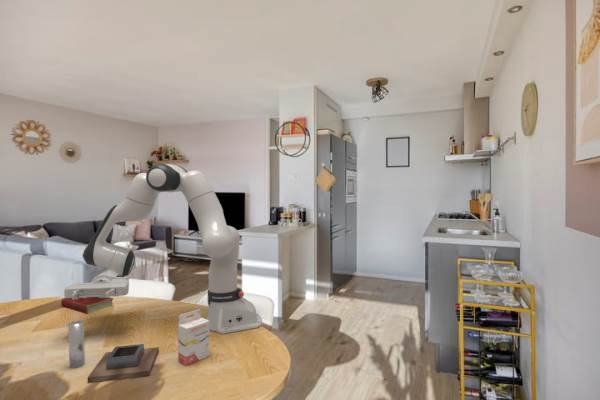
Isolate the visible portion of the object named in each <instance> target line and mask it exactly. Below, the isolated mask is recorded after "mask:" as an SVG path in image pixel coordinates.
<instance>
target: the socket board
mask: <svg viewBox="0 0 600 400" xmlns="http://www.w3.org/2000/svg"><path fill="white" fill-rule="evenodd" d="M159 349H160V348H159V346H156V347H147V348H146V347H144V354H143V357H142V359H141V361H140V363H139V365H138V366H137V367H128V368H119V369H110V370H106V359H107V358H108V357H109V355H110V354H111V352H112V351H108V352H107V351H106V352H105V353H104V354H103V356H102V357H101V358H100V360H99V361H98V363H97V364H96V365H95V367H93V369H92V371H91V372H90V374H89V375H88V377H87V379H86V380H87V383H88V384H91V383H100V382H109V381H118V380H125V379H133V378H142V377H143V378H144V377H149V376H150V374H151V372H152V370H153V367H154V364H155V362H156V359H157V357H158V355H159V352H160V350H159Z"/></svg>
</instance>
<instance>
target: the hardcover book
mask: <svg viewBox="0 0 600 400" xmlns="http://www.w3.org/2000/svg"><path fill="white" fill-rule="evenodd" d="M114 299H115V298H114V297H111V296H110V297H108V298H100V297H82V298H78V299H72V298H65V297H64V298H61V301H60V305H61V307H62V306H63V307H62V308H65V307H66V308H67V309H69V308H70V309H69V310H72V309H73V310H72V311H75V312H79V313H84V314H86V315H89V314H91V313H95V312H98V311H101V310H105V309H107V307H108V308H110V307H113V304H114V303H113V300H114ZM104 308H105V309H104Z"/></svg>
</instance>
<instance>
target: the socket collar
mask: <svg viewBox="0 0 600 400" xmlns="http://www.w3.org/2000/svg"><path fill="white" fill-rule="evenodd" d="M144 349H145V343H142V344H141V343H139V344H138V343H137V344H129V345H120V346H119V345H118V346H115V347H114V348H113V349H112V351H110V352H111V354H110V355H109V357H108V358H107V359H106V370H110V369H119V368H128V367H137V366H138V365H139V363H140V361H141V359H142V357H143V354H144Z"/></svg>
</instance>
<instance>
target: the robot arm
mask: <svg viewBox="0 0 600 400" xmlns="http://www.w3.org/2000/svg"><path fill="white" fill-rule="evenodd" d="M161 192H162V193H163V192H164V193H165V192H166V193H175V192H181V193H182V194H183V196H184V197H185V200H186V202H187V204H188V206H189V208H190V210H191V212H192V214H193V217H194V218H195V221H196V223H197V227H198V231H199V235H200V238H201V241H202V242H201V243H202V250H203V252H204V254H205V255H206V256H208V257H210V262H209V263H210V264H209V268H208V289H207V293H206V294H207V297H206V298H207V305H208V307H207V315H206V320H209V331H213V332H217V333H219V334H223V335H224V334H229V333H235V332H239V331H245V330H246V331H248V330H251V329H256V328H260V327H262V325H263V318H262V316H261V315H260V314H259V313H257V309H256V306H255V305H254V304H253V302H251V301H250V300H248V299H247V298H246V297H244V291H243V290H242V288H241V287H238V262H239V254H240V252H239V251H240V237H241V235H240V233H239V230H237V229H236V228H235V227H233V226H231V225H227V222H226V218H225V215H224V209H223V207H222V204H221V203H220V200H219V198H218V197H217V194H216V193H215V190H214V188H213V185H212V184H211V183H210V182H209V180H208V179H207V177H206V176H205V175H204V173H203V172H202V171H201V170H197V169H195V170H190V171H187V170H186V169H185V168H184V167H182V166H179V165H176V164H175V165H174V164H171V163H158V164H155V165H154V164H153V165H152V166H151V167H149V168H148V170H147V172H140V173H137V174H136V175H135V176H134V178H133V180H132V181H131V183H130V184H129V187H128V189H127V191H126V194H125V197H124V199H123V200H122V202H120V203H119V204H116V205H115V204H114V206H112V207H111V208H110V209H109V210H108V212H107V213H106V215H105V217H103V219H102V222H100V224H99V227H98V229H97V230H96V232H95V233H94V235H93V237H92V238H91V240H90V241H89V243H88V244H87V245H86V246H85V248H84V250H83V252H82V258H83V260H84V262H85V263H86V264H87V265H88V266H94V267H100V268H104V269H105V270H103V271H102V272H101V273H99V274H98V275H96V276H95V277H94V278H93V279H91V281H90V282H77V283H76V282H75V283H72V284H71V285H68V286H67V287H65V288H64V290H63V291H64V294H63V295H64V298H72V299H78V298H82V297H100V298H108V297H110V298H111V297H119V296H121V297H122V296H127V295H128V294H129V289H130V288H129V287H130V279H129V278H130V277H129V275H130V274H131V273H132V270H133V269H134V265H135V263H136V256H135V253H134V251H133V250H132V249H129V248H126V247H123V246H118V245H116V244H112V243H109V242H107V238H108V236H109V235H110V233H111V231H112V230H113V228H114V226H115V224H117V223H122V222H125V223H126V222H139V221H142V220H145V219H146V218H148V217H149V216H151V213H152V211H153V210H154V207H155V204H156V201H157V198H158V196H159V194H160V193H161Z"/></svg>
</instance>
